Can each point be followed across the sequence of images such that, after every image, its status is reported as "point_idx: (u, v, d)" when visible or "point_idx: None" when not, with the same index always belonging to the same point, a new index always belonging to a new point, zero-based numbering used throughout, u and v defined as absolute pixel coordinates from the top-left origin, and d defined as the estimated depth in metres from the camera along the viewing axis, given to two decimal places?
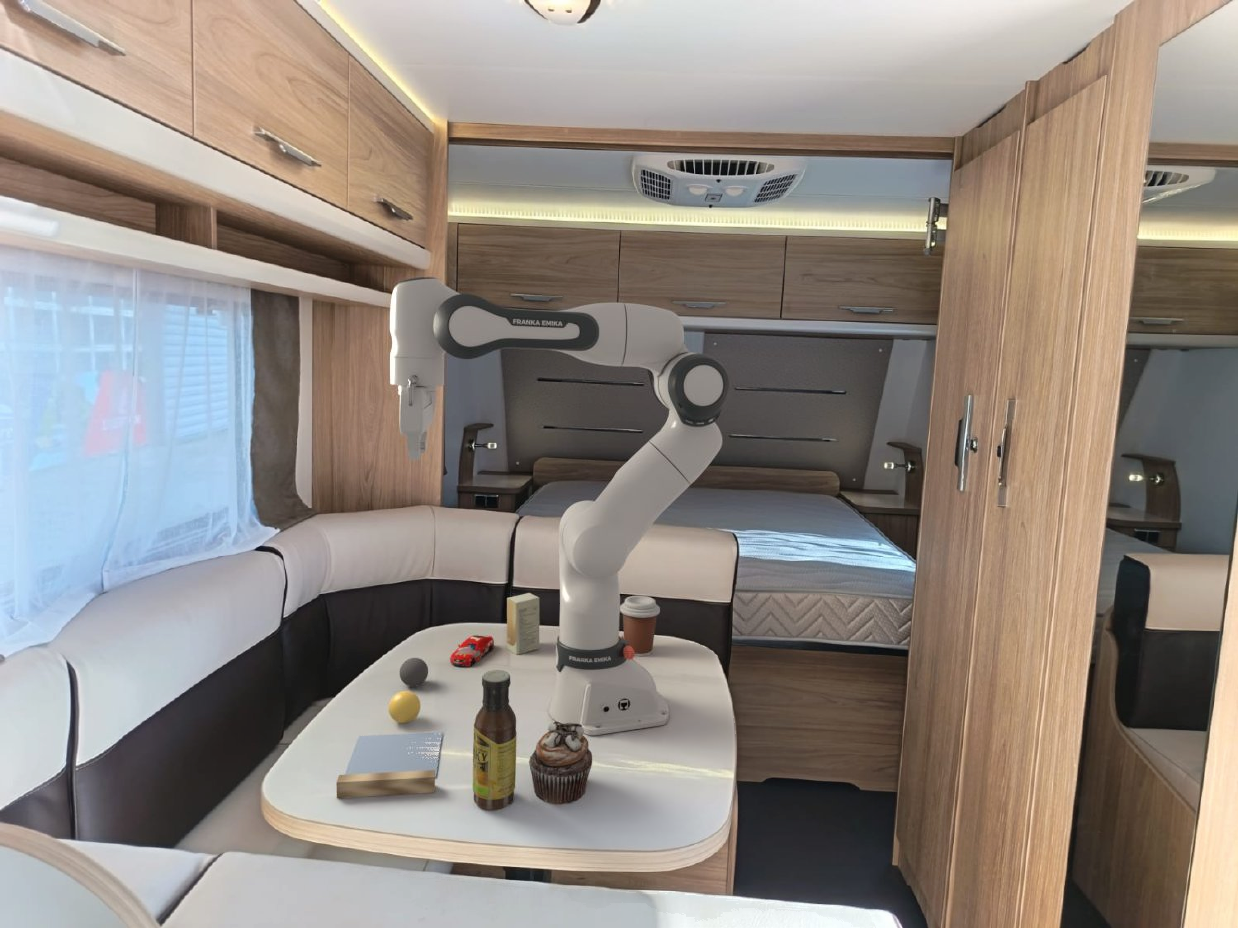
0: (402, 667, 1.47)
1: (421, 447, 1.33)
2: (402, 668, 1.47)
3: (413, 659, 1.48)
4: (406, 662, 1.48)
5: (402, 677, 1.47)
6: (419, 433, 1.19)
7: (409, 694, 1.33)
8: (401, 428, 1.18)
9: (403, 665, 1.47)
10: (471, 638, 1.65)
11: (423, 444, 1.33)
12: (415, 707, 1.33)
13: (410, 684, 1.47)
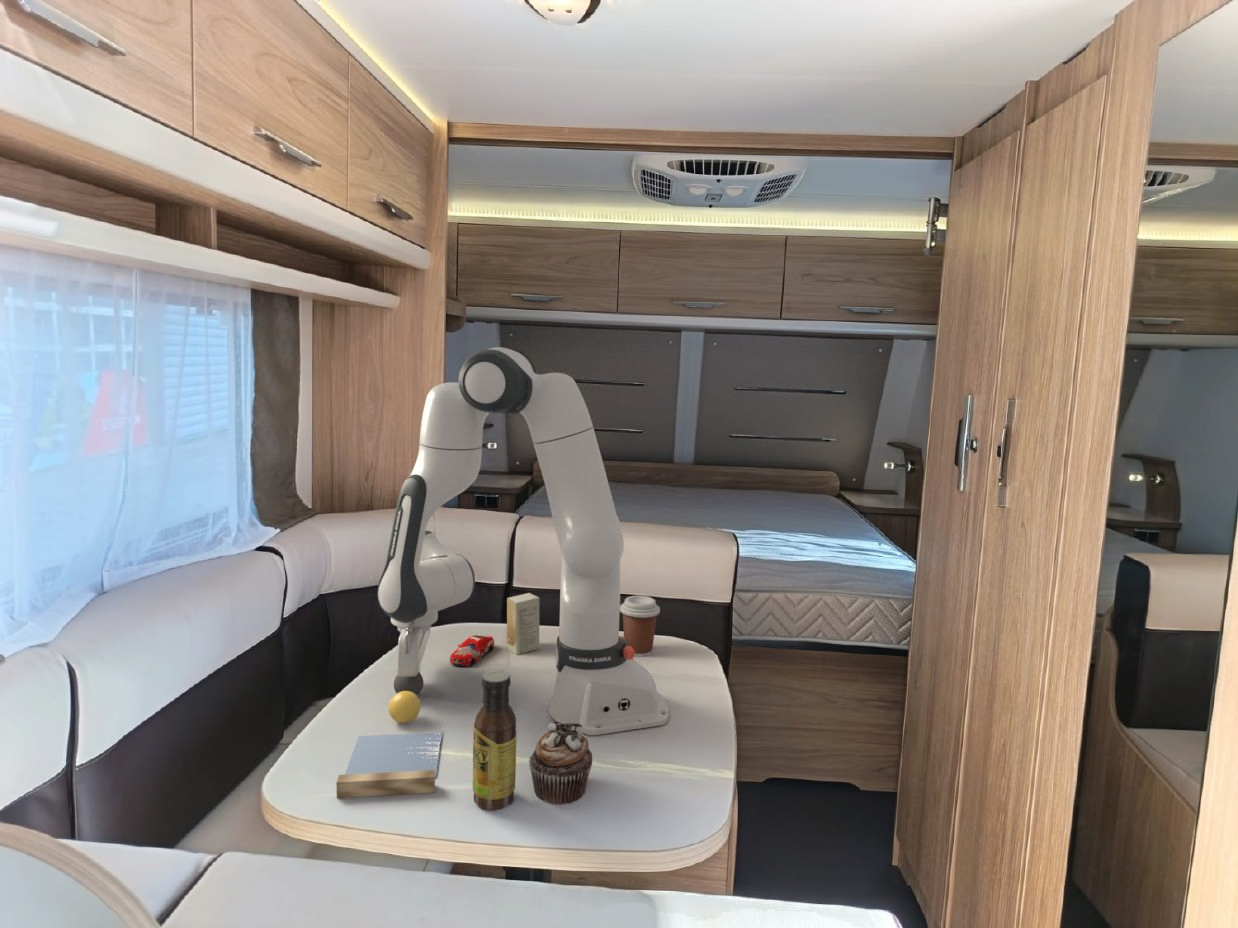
0: (396, 691, 1.42)
1: None
2: (397, 692, 1.42)
3: (406, 689, 1.41)
4: (399, 690, 1.41)
5: None
6: (414, 675, 1.38)
7: (409, 694, 1.33)
8: (399, 672, 1.37)
9: (397, 691, 1.42)
10: (471, 638, 1.65)
11: None
12: (415, 707, 1.33)
13: None
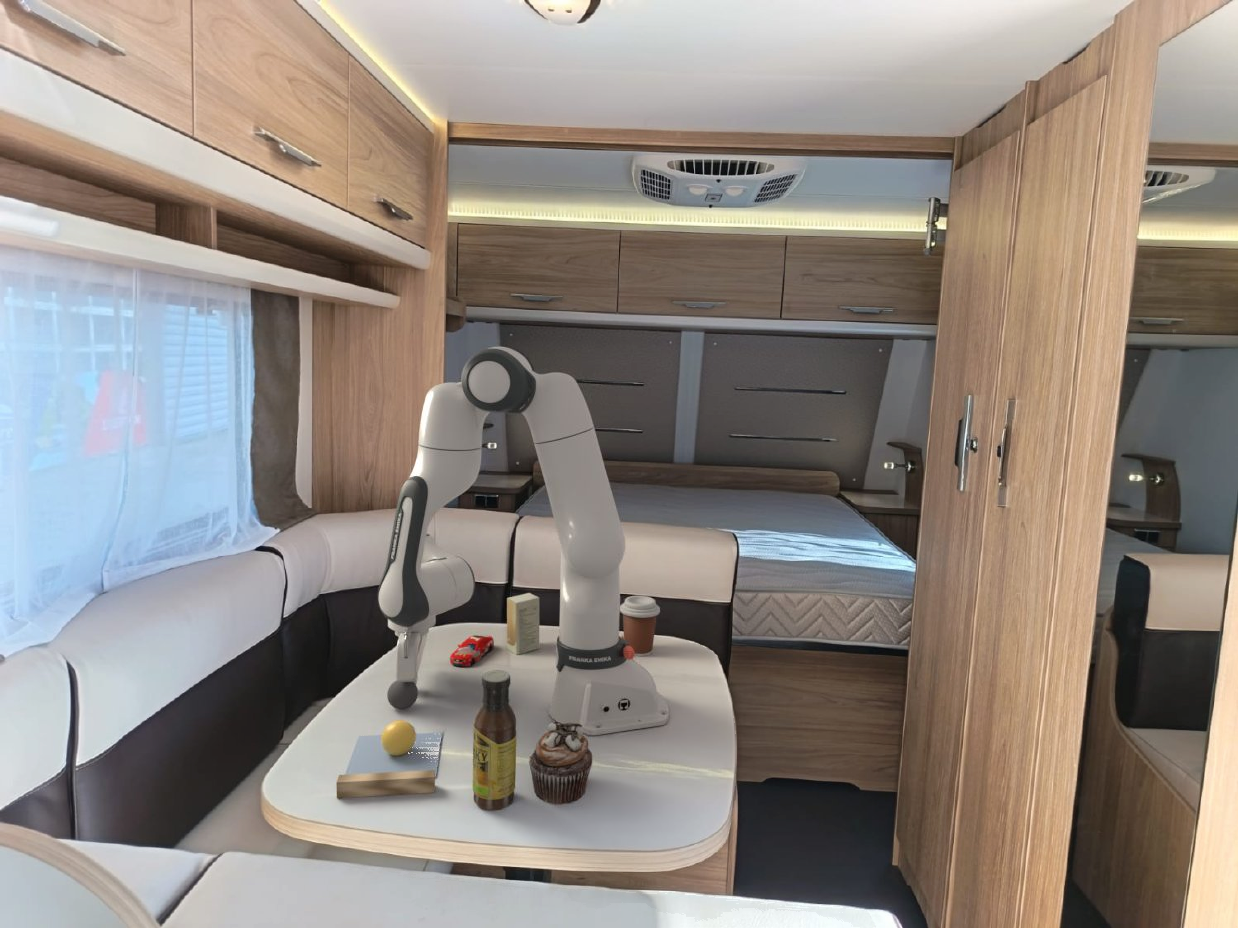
0: None
1: None
2: None
3: None
4: None
5: None
6: (413, 680, 1.36)
7: None
8: (397, 678, 1.35)
9: None
10: (471, 638, 1.65)
11: None
12: None
13: None
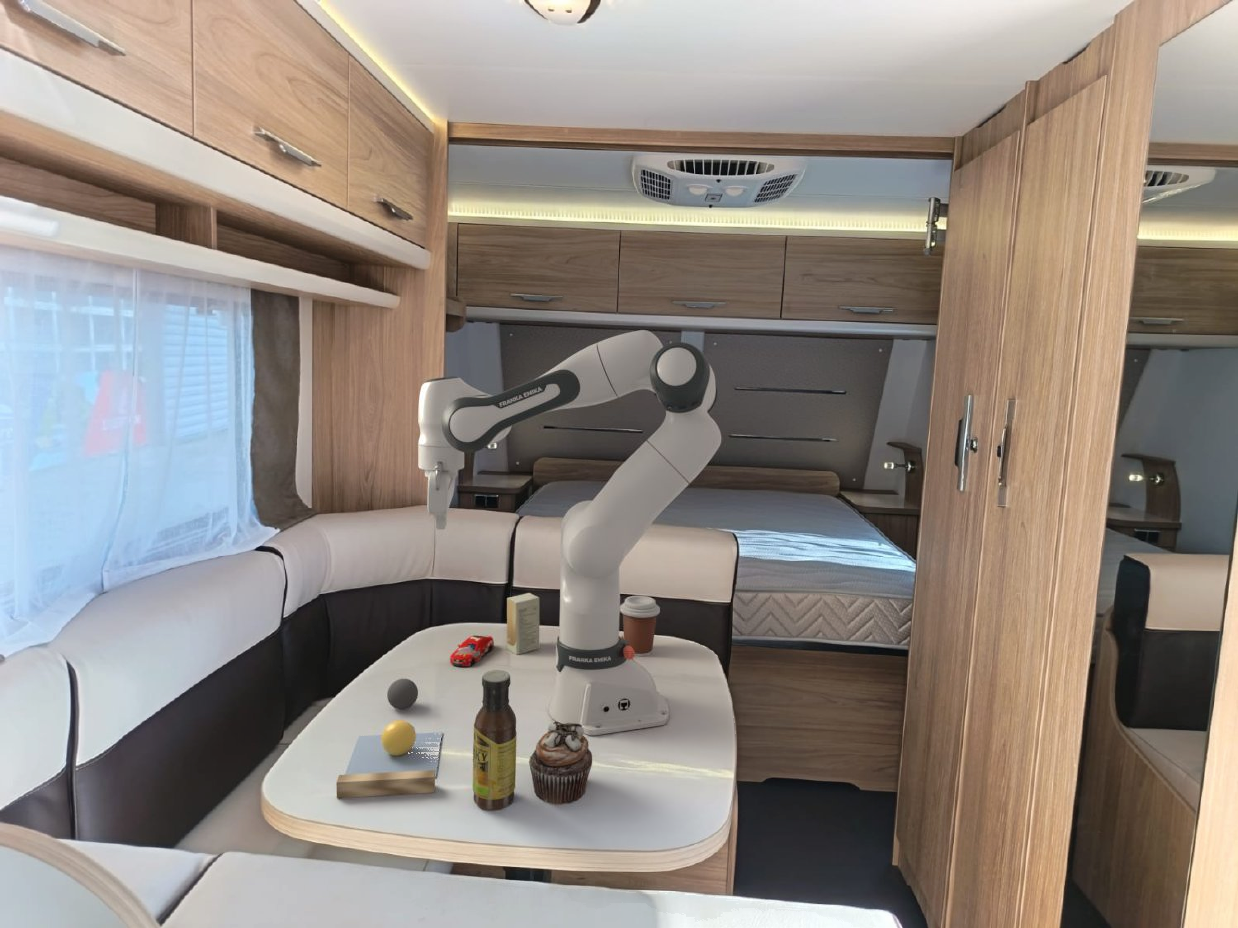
0: None
1: None
2: None
3: None
4: None
5: None
6: (444, 513, 1.40)
7: None
8: (429, 509, 1.39)
9: None
10: (471, 638, 1.65)
11: None
12: None
13: None
